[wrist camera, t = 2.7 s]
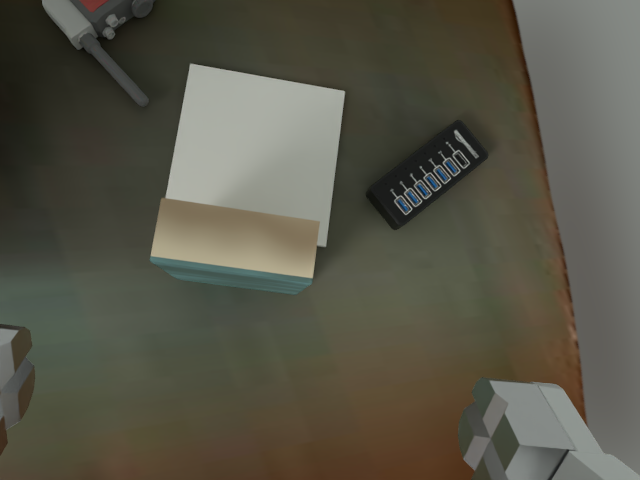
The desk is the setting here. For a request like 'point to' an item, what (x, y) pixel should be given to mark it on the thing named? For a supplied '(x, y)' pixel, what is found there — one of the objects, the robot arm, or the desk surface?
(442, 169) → the multiport hub
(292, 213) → the mat
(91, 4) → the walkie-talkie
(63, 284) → the desk surface
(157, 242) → the beige rectangular block
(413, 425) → the desk surface
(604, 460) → the robot arm
